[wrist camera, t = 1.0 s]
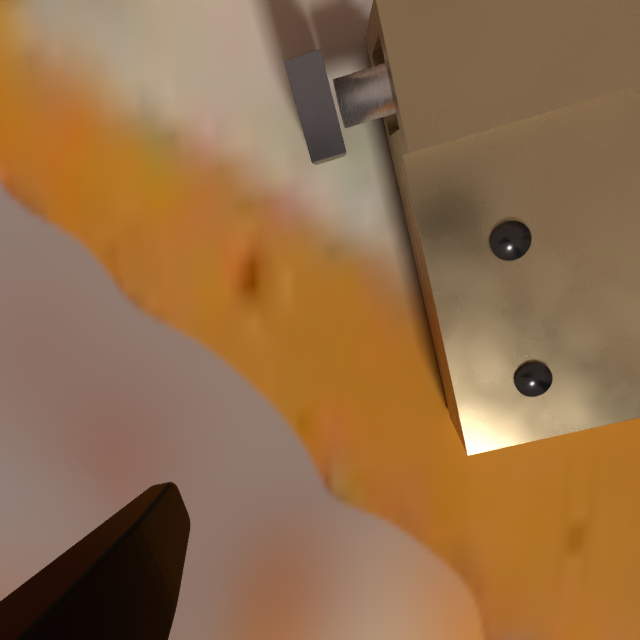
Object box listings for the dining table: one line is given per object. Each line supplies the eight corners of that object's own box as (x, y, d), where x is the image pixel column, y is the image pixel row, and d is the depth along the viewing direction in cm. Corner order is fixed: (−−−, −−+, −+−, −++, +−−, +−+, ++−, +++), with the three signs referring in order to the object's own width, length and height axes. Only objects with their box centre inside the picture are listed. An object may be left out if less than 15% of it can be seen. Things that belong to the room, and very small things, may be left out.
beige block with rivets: (720, 356, 21) (819, 403, 16) (450, 418, 22) (477, 476, 18) (704, -72, 16) (835, -160, 12) (365, 38, 17) (374, -6, 13)
